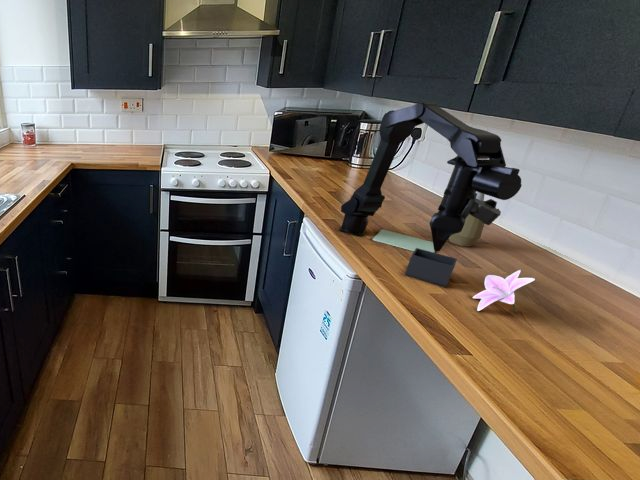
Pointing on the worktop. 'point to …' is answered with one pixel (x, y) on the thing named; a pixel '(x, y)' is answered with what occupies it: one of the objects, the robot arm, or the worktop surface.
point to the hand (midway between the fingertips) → (439, 245)
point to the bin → (430, 267)
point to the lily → (501, 289)
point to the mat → (403, 241)
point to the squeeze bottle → (469, 229)
